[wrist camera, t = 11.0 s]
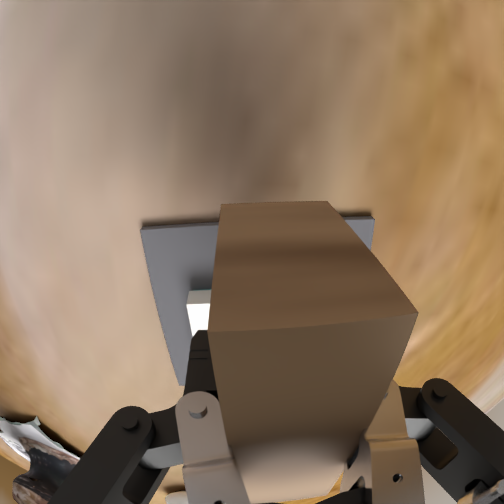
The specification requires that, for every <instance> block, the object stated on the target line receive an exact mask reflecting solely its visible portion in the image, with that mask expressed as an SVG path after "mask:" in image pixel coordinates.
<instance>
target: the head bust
mask: <svg viewBox="0 0 504 504" xmlns="http://www.w3.org/2000/svg"><path fill="white" fill-rule="evenodd" d="M38 425H40V422H39V420H38V418H37V416H36V418H35V420H34V421H31V422H28V423H24V424H23V423H20V422H15V423H12V422H11V423H10V422H9V421H7V420H6V419H5V418H1V417H0V429H1V430H2V432H3V433H2V432H0V437H1V438H2V439H3V440H4V442H5V443H6V444H7V445H8V446H9V447H11V448H12V449H13V450H14V451H15V452H17V453H18V454H19V455H21V456H22V457H24V458H25V459H27V460H28V461H30V464H31V465H30V470H29V471H28V472H27V473H25V474H22V475H19V476H18V477H16V478H15V479H14V481H13V498H14V500H15V501H16V502H17V503H18V504H47V503H48V502H49V500H50V499H51V497H52V496H53V495H54V493H55V492H56V491H57V489H58V488H59V487H60V485H61V484H62V483H63V481H64V480H65V479H66V477H67V476H68V474H69V473H70V472H71V470H72V469H73V468H74V466H75V465H76V464H77V462H78V461H79V460H80V457H77V455H73V453H70V452H68V451H67V450H65V449H63V447H62V446H61V445H60V444H59V443H57V442H53V441H52V440H51V439H50V438H49V437H47V436H46V435H45V434H44V433H43V432H42V431H41V429H40V428H39V427H38Z"/></svg>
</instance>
